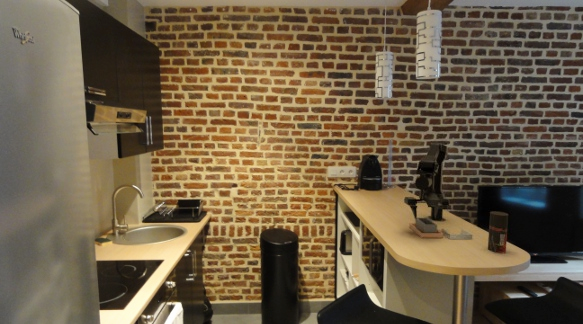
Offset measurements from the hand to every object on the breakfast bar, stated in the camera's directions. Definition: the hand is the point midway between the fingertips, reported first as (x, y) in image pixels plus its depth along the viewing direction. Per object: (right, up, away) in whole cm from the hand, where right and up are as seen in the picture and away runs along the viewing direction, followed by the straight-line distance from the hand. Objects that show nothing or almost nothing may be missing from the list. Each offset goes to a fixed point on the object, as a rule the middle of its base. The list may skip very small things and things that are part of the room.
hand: (425, 219), depth 136 cm
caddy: (0, -6, 0) cm, 6 cm away
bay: (+12, -7, -4) cm, 14 cm away
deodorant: (+19, -9, -20) cm, 29 cm away
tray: (0, -6, +1) cm, 7 cm away
